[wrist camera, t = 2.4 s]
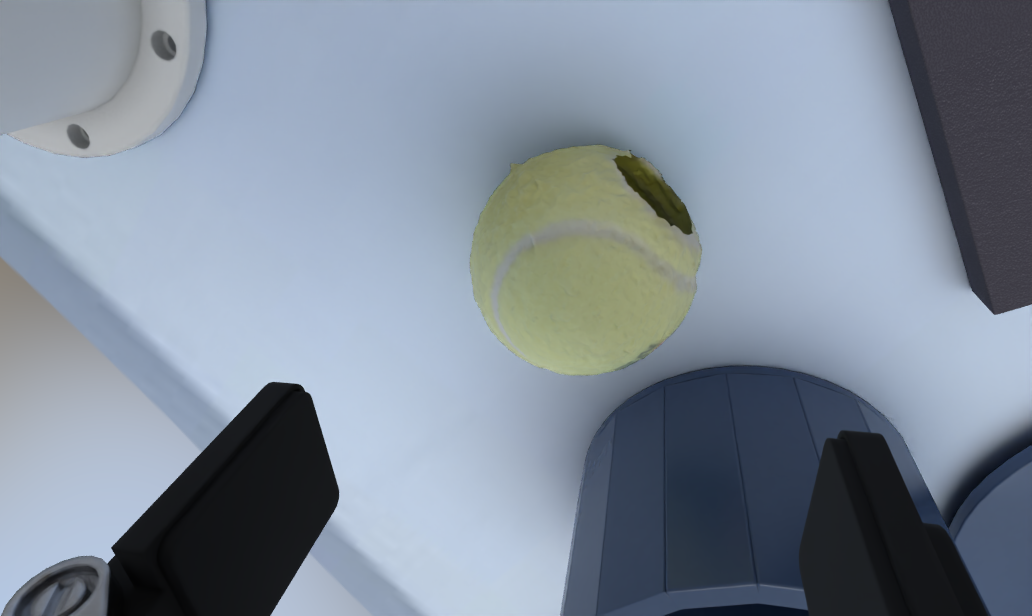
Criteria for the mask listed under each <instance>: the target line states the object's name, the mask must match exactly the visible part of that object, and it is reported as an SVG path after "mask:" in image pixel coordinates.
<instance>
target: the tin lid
mask: <svg viewBox="0 0 1032 616" xmlns="http://www.w3.org/2000/svg"><path fill="white" fill-rule="evenodd" d="M949 532H950V534H951V536H952V538H953V540H954V542H955V544H956V546H957V548H958V550H959V552H960V554H961V556H962V558H963V560H964V562H965V564H966V566H967V568H968V570H969V572H970V574H971V576H972V578H973V580H974V582H975V584H976V586H977V588H978V590H979V592H980V594H981V596H982V598H983V600H984V602H985V604H986V606H987V608H988V610H989V612H990V614H991V616H1032V445H1031V446H1029V447H1027V448H1026V449H1024V450H1023V451H1021V452H1019V453H1018V454H1016V455H1015V456H1013V457H1011V458H1010V459H1008V460H1007V461H1006V462H1004V463H1003V464H1002V465H1001V466H999V467H998V468H997V469H995V470H994V471H993V472H992V473H990V474H989V475H988V476H987V477H986V478H985V479H984V480H983V481H982V482H981V483H980V484H979V485H978V486H977V487H976V488H975V489H974V490H973V491H972V492H971V493H970V494H969V496H968V497H967V498H966V500H965V501H964V502H963V504H962V505H961V506H960V508H959V509H958V511H957V513H956V515H955V517H954V519H953V521H952V523H951V524H950V527H949Z"/></svg>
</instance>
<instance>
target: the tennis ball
mask: <svg viewBox="0 0 1032 616" xmlns="http://www.w3.org/2000/svg"><path fill="white" fill-rule="evenodd" d="M630 151H631V150H626V151H621V150H619V149H614V148H611V147H608V146H604V145H587V146H577V147H575V146H573V147H569V148H562V149H556V150H554V151H551V152H547V153H544V154H541V155H539V156H537V157H533V158H530V159H528V160H527V161H526V162H525V163H524V164H513V163H511V164H510V167H511V170H510V174H509V175H508V176H507V177H506V178H505V179H504V180H503V182H502V183H501V184H500V185H499V186H498V187H497V188H496V190H495V191H494V192H493V194H492V195H491V196H490V198H489V200H488V202H487V204H486V206H485V208H484V210H483V211H482V213H481V214H480V218H479V221H478V224H477V226H476V228H475V231H474V234H473V241H472V250H471V255H470V273H471V277H472V285H473V292H474V298H475V301H476V302H477V304H478V307H479V308H480V310H481V312H482V315H483V317H484V319H485V320H486V322H487V325H488V326H489V328H490V330H491V332H492V333H493V334H494V335H495V336H496V337H497V339H498V340H499V341H500V342H501V343H503V344H504V345H505V346H506V347H507V348H508V349H509V350H510V351H512V352H513V353H515V354H516V355H517V356H518V357H520V358H522V359H523V360H525V361H527V362H528V363H530V364H532V365H534V366H537V367H539V368H544V369H549V370H550V371H553V372H555V373H558V374H564V375H573V376H575V375H586V376H588V375H598V374H602V373H607V372H613V371H617V370H621V369H623V368H625V367H627V366H629V365H631V364H633V363H635V362H637V361H638V360H640V359H643V358H645V357H646V356H647V355H649V354H650V353H651V352H652V351H654V349H656V348H657V347H659V346H660V345H661V344H662V343H663V342H664V341H665V340H666V339H667V338H668V337H669V336H670V335H671V334H672V333H674V332H675V330H676V329H677V328H678V327H679V325H680V324H681V322H682V321H683V320H684V318H685V316H686V314H687V313H688V310H689V309H690V306H691V304H692V301H693V299H694V295H695V293H696V290H697V284H696V273H697V271H698V268H699V265H700V260H701V254H702V248H701V244H700V242H699V236H698V234H697V232H696V228H695V226H694V224H693V222H692V220H691V218H690V216H689V214H688V212H687V209H686V207H685V205H684V203H683V202H681V199H680V198H679V197H678V196H677V195H676V194H675V192H674V191H673V190H672V188H671V187H670V186H668V185H667V184H666V183H665V181H664V180H663V177H661V176H662V174H661V173H659V170H657V169H656V168H655V167H654V166H653V165H652V164H651V163H650V162H649V161H646V160H645V158H642V157H641V158H638V157H636V156H634V155H633V154H631V153H630Z"/></svg>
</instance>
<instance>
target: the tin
mask: <svg viewBox="0 0 1032 616" xmlns="http://www.w3.org/2000/svg"><path fill="white" fill-rule="evenodd" d="M842 430H847V431H859V432H871V433H880V434H882V435H883V436H884V438H885V440H886V442H887V444H888V446H889V449H890V451H891V453H892V455H893V458H894V460H895V462H896V464H897V466H898V469H899V471H900V473H901V475H902V478H903V480H904V482H905V484H906V487H907V489H908V491H909V493H910V496H911V498H912V500H913V502H914V504H915V507H916V509H917V511H918V513H919V516H920V518H921V520H922V522H923V523H930V524H937V525H940V526H941V527H943V528H944V529H945V530H946V531H947V533H948V535H949V536H950V538H951V539H952V541H953V544H954V546H955V548H956V550H957V552H958V554H959V556H960V558H961V560H962V562H963V564H964V566H965V568H966V570H967V572H968V575H969V577H970V579H971V581H972V583H973V585H974V587H975V589H976V591H977V593H978V595H979V597H980V599H981V601H982V603H983V605H984V608H985V610H986V612H987V614H988V616H991V614H990V612H989V610H988V608H987V606H986V604H985V602H984V600H983V598H982V596H981V594H980V592H979V590H978V588H977V586H976V584H975V582H974V580H973V578H972V576H971V574H970V572H969V570H968V568H967V566H966V564H965V562H964V560H963V558H962V556H961V554H960V552H959V550H958V548H957V546H956V544H955V542H954V540H953V538H952V536H951V534H950V532H949V530H948V528H947V526H946V524H945V522H944V520H943V518H942V516H941V514H940V512H939V510H938V508H937V506H936V504H935V502H934V500H933V498H932V496H931V494H930V492H929V490H928V488H927V486H926V484H925V482H924V480H923V478H922V476H921V474H920V472H919V470H918V468H917V466H916V464H915V462H914V460H913V458H912V456H911V454H910V452H909V450H908V448H907V446H906V444H905V441H904V439H903V437H902V436H901V435H900V433H899V432H898V431H897V430H896V429H895V428H894V427H893V426H892V424H891V423H890V422H889V421H888V420H887V419H886V418H885V417H884V416H883V415H882V414H881V413H880V412H878V411H877V410H876V409H875V408H874V407H872V406H871V405H870V404H869V403H867V402H866V401H864V400H863V399H861V398H859V397H858V396H856V395H855V394H853V393H851V392H850V391H848V390H846V389H843V388H841V387H839V386H837V385H835V384H833V383H830V382H828V381H825V380H822V379H819V378H816V377H813V376H810V375H807V374H803V373H798V372H794V371H789V370H784V369H778V368H768V367H759V366H730V367H719V368H709V369H704V370H699V371H694V372H689V373H685V374H682V375H679V376H676V377H673V378H669V379H666V380H664V381H662V382H659V383H657V384H655V385H653V386H650V387H648V388H646V389H644V390H643V391H641V392H639V393H638V394H636V395H635V396H633V397H631V398H630V399H628V400H627V401H626V402H625V403H623V404H622V405H621V406H620V407H618V408H617V409H616V410H615V411H614V412H613V413H612V414H611V415H610V416H609V417H608V418H607V419H606V420H605V422H604V423H603V424H602V425H601V427H600V428H599V430H598V431H597V433H596V434H595V436H594V438H593V440H592V442H591V445H590V447H589V449H588V452H587V456H586V460H585V464H584V471H583V475H582V480H581V485H580V491H579V497H578V504H577V510H576V516H575V523H574V529H573V536H572V542H571V549H570V555H569V562H568V568H567V574H566V581H565V587H564V594H563V600H562V607H561V613H560V616H809V612H808V607H807V602H806V598H805V593H804V588H803V583H802V579H801V574H800V568H799V549H800V544H801V540H802V535H803V531H804V527H805V523H806V519H807V514H808V510H809V506H810V502H811V497H812V493H813V489H814V485H815V481H816V476H817V472H818V468H819V464H820V460H821V455H822V451H823V447H824V443H825V440H826V439H827V438H835V439H837V436H838V434H839V432H840V431H842Z"/></svg>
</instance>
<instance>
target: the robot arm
mask: <svg viewBox="0 0 1032 616" xmlns="http://www.w3.org/2000/svg"><path fill="white" fill-rule="evenodd" d="M206 31H207V19H206V4H205V0H0V135H3V134H7V135H9V136H11V137H13V138H15V139H17V140H19V141H21V142H23V143H25V144H27V145H30V146H33V147H36V148H39V149H42V150H45V151H48V152H51V153H54V154H60V155H67V156H74V157H81V158H87V157H100V156H110V155H113V154H116V153H119V152H123V151H126V150H129V149H132V148H135V147H138V146H140V145H142V144H144V143H146V142H148V141H150V140H152V139H153V138H155V137H157V136H159V135H161V134H162V133H163V132H164V131H165V130H166V129H167V128H168V127H169V126H170V125H171V124H172V123H173V122H174V121H176V120H177V119H178V118H179V117H180V115H181V113H182V112H183V110H184V108H185V107H186V105H187V103H188V102H189V100H190V98H191V96H192V95H193V93H194V90H195V87H196V84H197V81H198V78H199V74H200V71H201V68H202V65H203V60H204V50H205V41H206ZM338 500H339V488H338V485H337V482H336V478H335V475H334V471H333V468H332V465H331V461H330V458H329V454H328V451H327V448H326V444H325V441H324V438H323V434H322V431H321V427H320V424H319V421H318V417H317V414H316V410H315V407H314V404H313V400H312V397H311V395H310V394H309V393H307V392H305V390H304V388H303V387H302V386H301V385H299V384H292V383H280V382H271V383H268V384H267V385H266V386H265V387H264V388H263V389H262V390H261V391H260V392H259V393H258V394H257V395H256V396H255V397H254V398H253V399H252V400H251V401H250V402H249V403H248V404H247V405H246V407H245V408H244V409H243V410H242V411H241V412H240V413H239V414H238V415H237V416H236V417H235V418H234V419H233V420H232V421H231V422H230V423H229V424H228V425H227V426H226V428H225V429H224V430H223V431H222V432H221V433H220V434H219V435H218V436H217V437H216V438H215V439H214V440H213V441H212V442H211V443H210V444H209V445H208V446H207V448H206V449H205V450H204V451H203V452H202V453H201V454H200V455H199V456H198V457H197V458H196V459H195V460H194V461H193V462H192V463H191V464H190V465H189V467H187V469H186V470H185V471H184V472H183V473H182V474H181V475H180V476H179V477H178V478H177V479H176V480H175V481H174V482H173V483H172V484H171V485H170V486H169V487H168V489H167V490H166V491H165V492H164V493H163V494H162V495H161V496H160V497H159V498H158V499H157V500H156V501H155V502H154V503H153V504H152V505H151V506H150V508H148V510H147V511H146V512H145V513H144V514H143V515H142V516H141V517H140V518H139V519H138V520H137V521H136V522H135V523H134V524H133V525H132V526H131V527H130V528H129V530H128V531H127V532H126V533H125V534H124V535H123V536H122V537H121V538H120V539H119V540H118V541H117V542H116V543H115V544H114V545H113V546H112V547H111V548H112V550H113V552H114V553H115V556H114V557H113V558H112V559H111V560H110V561H109V563H108V564H107V563H106V562H105V561H104V560H103V559H101V558H98V557H94V556H80V557H75V558H71V559H68V560H64V561H62V562H59V563H57V564H55V565H53V566H51V567H49V568H46V569H45V570H43V571H42V572H40V573H39V574H37V575H36V576H35V577H33V578H31V579H30V580H29V581H28V582H27V583H25V584H24V585H23V586H22V587H21V588H20V589H19V590H18V591H17V592H16V593H15V594H14V595H13V597H12V598H11V599H10V600H9V602H8V603H7V604H6V606H5V608H4V610H3V613H2V615H1V616H270V615H271V614H272V612H273V610H274V609H275V607H276V605H277V604H278V602H279V600H280V599H281V597H282V596H283V594H284V592H285V591H286V589H287V587H288V586H289V584H290V582H291V581H292V579H293V577H294V576H295V574H296V573H297V571H298V569H299V568H300V566H301V564H302V563H303V561H304V559H305V558H306V556H307V555H308V553H309V551H310V550H311V548H312V546H313V545H314V543H315V541H316V540H317V538H318V537H319V535H320V533H321V532H322V530H323V528H324V527H325V525H326V523H327V522H328V520H329V519H330V517H331V515H332V514H333V512H334V510H335V508H336V506H337V504H338ZM799 568H800V574H801V579H802V583H803V588H804V593H805V598H806V602H807V607H808V612H809V616H988V614H987V612H986V610H985V608H984V605H983V603H982V601H981V599H980V597H979V595H978V593H977V591H976V589H975V587H974V585H973V583H972V581H971V579H970V577H969V575H968V572H967V570H966V568H965V566H964V564H963V562H962V560H961V558H960V556H959V554H958V552H957V550H956V548H955V546H954V544H953V541H952V539H951V538H950V536H949V535H948V533H947V531H946V530H945V529H944V528H943V527H941V526H940V525H937V524H930V523H923V522H922V520H921V518H920V516H919V513H918V511H917V509H916V507H915V504H914V502H913V500H912V498H911V496H910V493H909V491H908V489H907V487H906V484H905V482H904V480H903V478H902V475H901V473H900V471H899V469H898V466H897V464H896V462H895V460H894V458H893V455H892V453H891V451H890V449H889V446H888V444H887V442H886V440H885V438H884V436H883V435H882V434H880V433H871V432H859V431H847V430H842V431H840V432H839V434H838V436H837V439H835V438H827V439H826V440H825V443H824V447H823V451H822V455H821V460H820V464H819V468H818V472H817V476H816V481H815V485H814V489H813V493H812V497H811V502H810V506H809V510H808V514H807V519H806V523H805V527H804V531H803V535H802V540H801V544H800V549H799Z"/></svg>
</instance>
